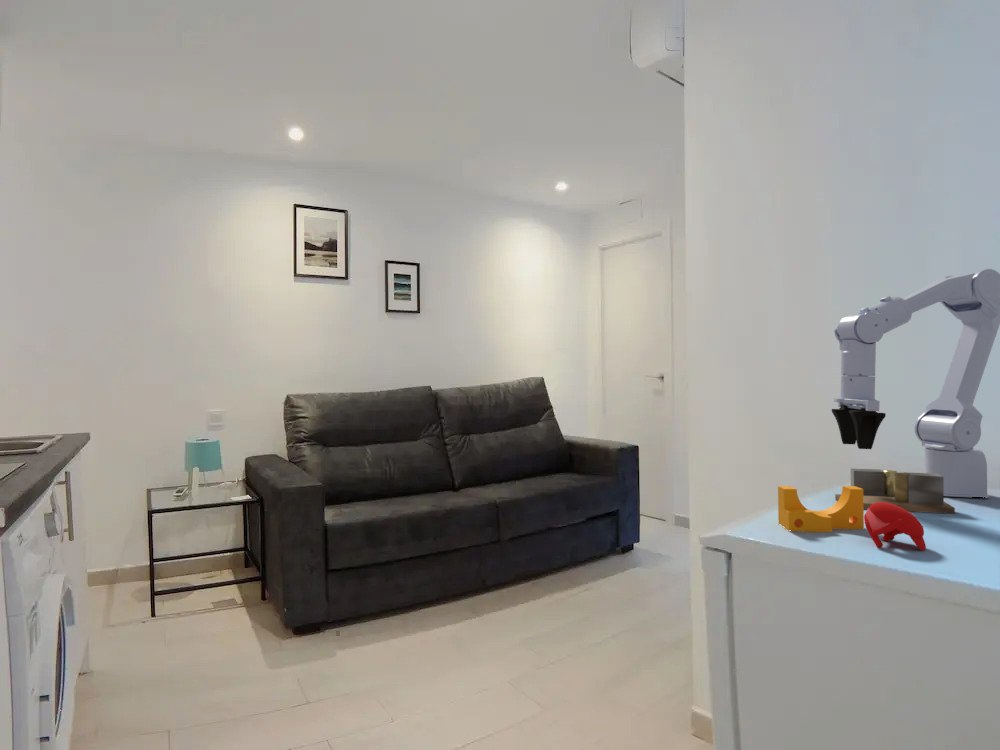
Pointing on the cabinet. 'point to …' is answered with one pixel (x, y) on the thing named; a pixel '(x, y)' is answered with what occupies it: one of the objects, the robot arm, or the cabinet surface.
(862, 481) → the grey post
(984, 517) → the cabinet surface
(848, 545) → the cabinet surface
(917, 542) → the red animal figurine
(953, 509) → the hinge jig
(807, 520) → the pipe clamp
